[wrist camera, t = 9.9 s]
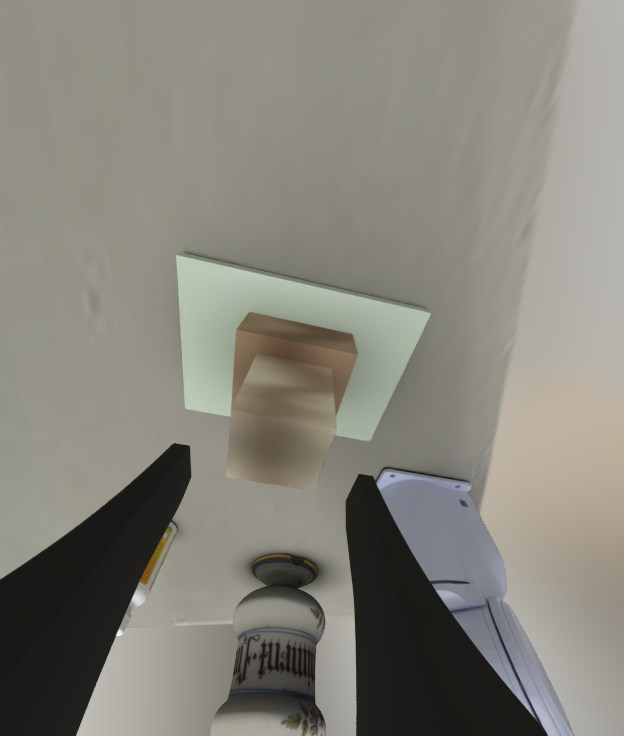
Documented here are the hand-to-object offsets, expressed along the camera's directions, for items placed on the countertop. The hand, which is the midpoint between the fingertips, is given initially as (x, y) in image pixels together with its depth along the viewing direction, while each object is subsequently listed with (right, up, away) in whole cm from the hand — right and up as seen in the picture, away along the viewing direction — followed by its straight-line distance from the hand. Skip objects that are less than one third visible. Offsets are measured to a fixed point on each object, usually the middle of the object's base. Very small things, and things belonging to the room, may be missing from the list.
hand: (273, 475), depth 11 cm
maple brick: (0, +3, +5) cm, 6 cm away
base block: (0, +5, +9) cm, 10 cm away
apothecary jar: (-2, -26, +28) cm, 38 cm away
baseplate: (0, +5, +9) cm, 10 cm away
